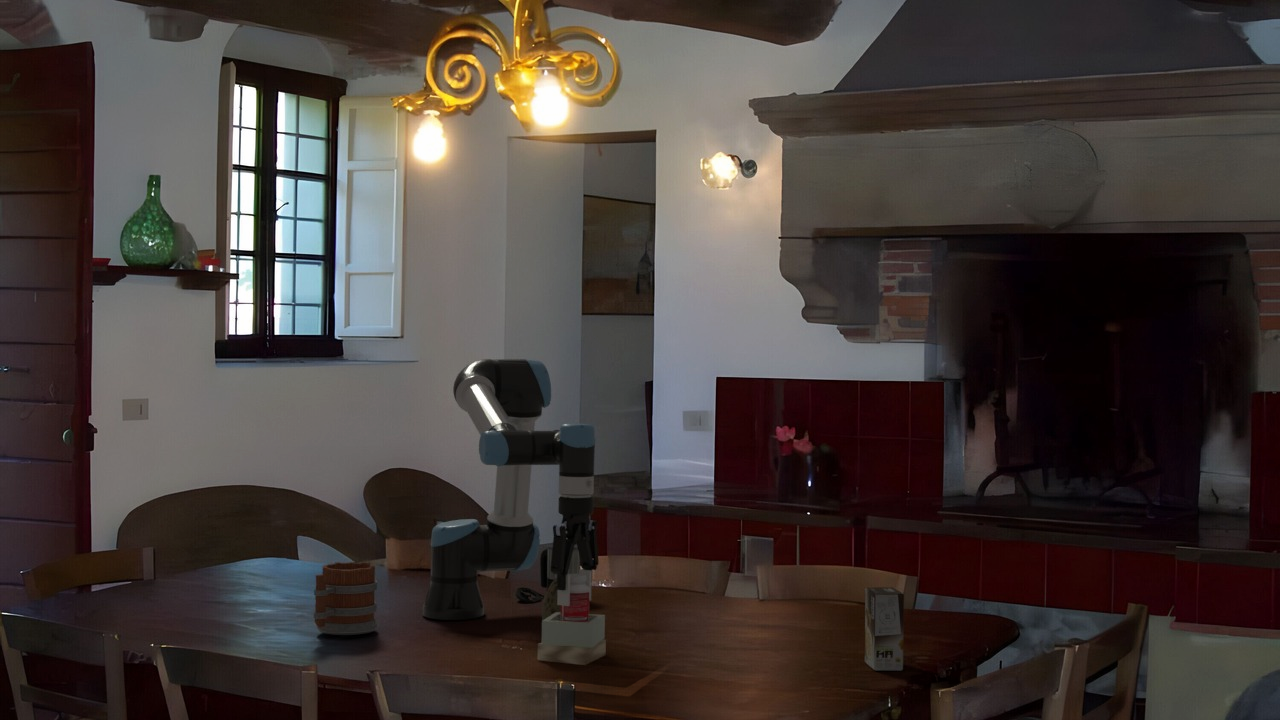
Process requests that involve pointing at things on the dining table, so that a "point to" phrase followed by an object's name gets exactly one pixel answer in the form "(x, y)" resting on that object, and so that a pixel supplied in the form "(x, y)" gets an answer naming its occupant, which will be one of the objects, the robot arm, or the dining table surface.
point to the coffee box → (884, 628)
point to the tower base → (571, 653)
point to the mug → (346, 599)
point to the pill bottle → (577, 600)
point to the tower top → (573, 631)
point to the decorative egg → (550, 601)
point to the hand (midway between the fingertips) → (574, 602)
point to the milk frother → (548, 574)
